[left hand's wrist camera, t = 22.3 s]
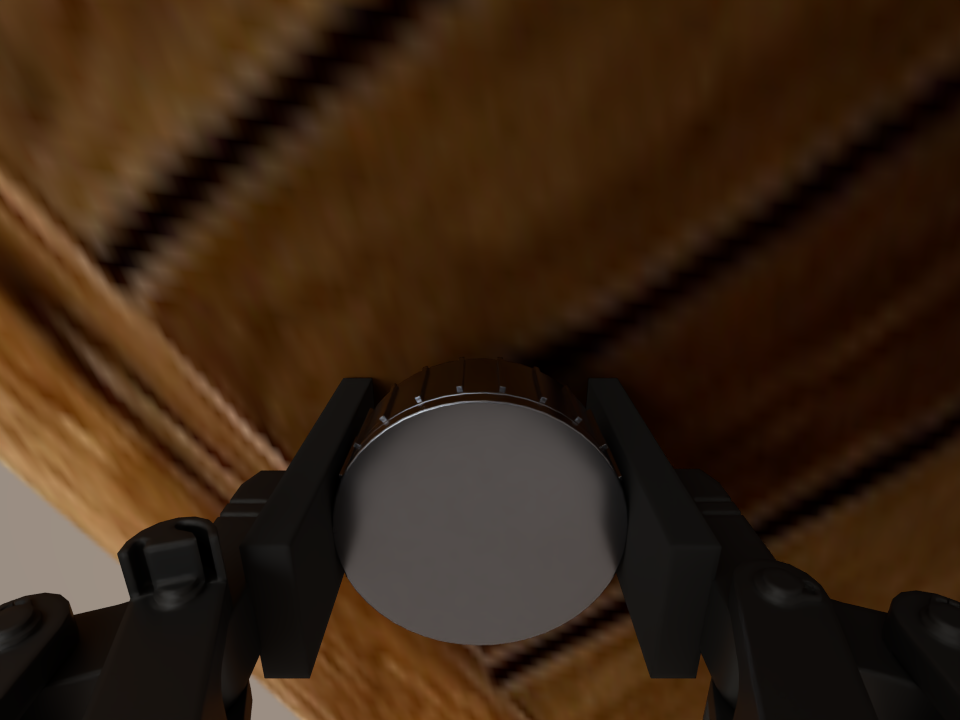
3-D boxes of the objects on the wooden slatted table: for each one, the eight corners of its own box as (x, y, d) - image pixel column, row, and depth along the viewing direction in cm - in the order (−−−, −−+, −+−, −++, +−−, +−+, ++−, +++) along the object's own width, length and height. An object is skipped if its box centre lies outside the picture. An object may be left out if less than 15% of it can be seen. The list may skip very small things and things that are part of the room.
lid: (517, 608, 14) (523, 686, 12) (309, 508, 13) (277, 574, 11) (660, 437, 12) (696, 493, 10) (432, 303, 11) (422, 336, 9)
